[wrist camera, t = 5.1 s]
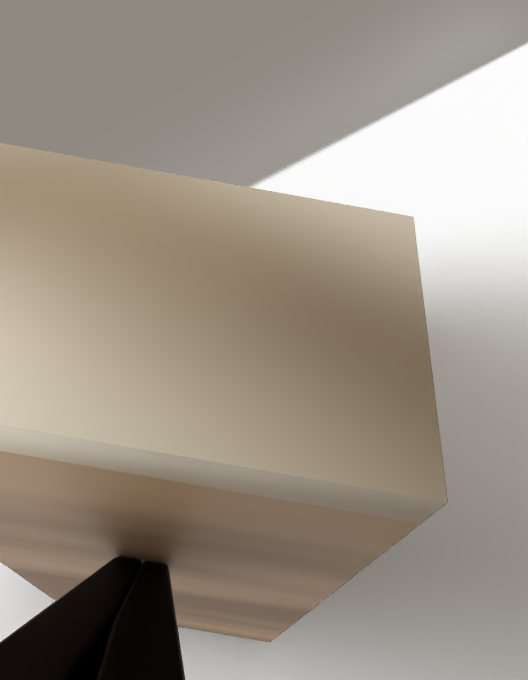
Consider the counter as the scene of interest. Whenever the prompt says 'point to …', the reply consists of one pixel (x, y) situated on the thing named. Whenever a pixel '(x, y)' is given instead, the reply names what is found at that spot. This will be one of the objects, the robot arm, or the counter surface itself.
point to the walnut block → (207, 387)
